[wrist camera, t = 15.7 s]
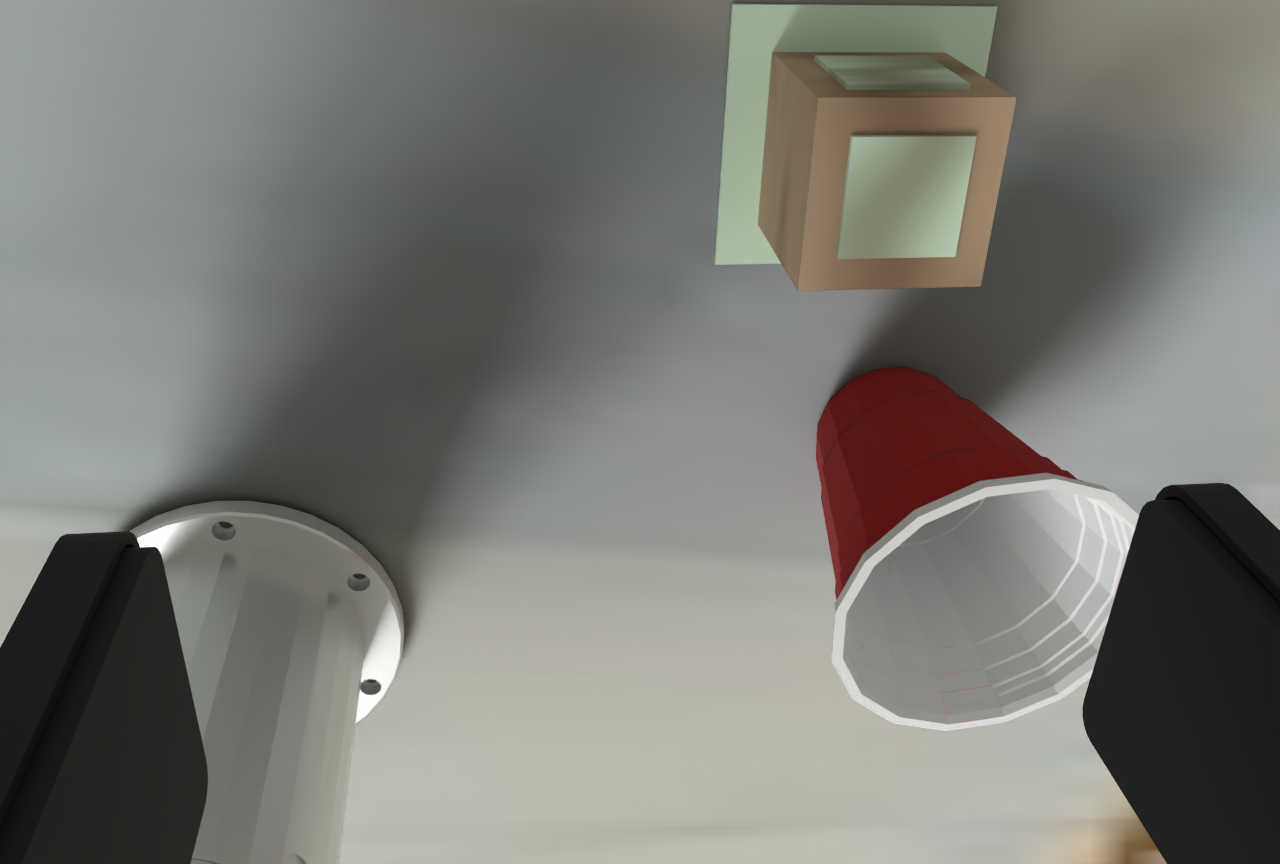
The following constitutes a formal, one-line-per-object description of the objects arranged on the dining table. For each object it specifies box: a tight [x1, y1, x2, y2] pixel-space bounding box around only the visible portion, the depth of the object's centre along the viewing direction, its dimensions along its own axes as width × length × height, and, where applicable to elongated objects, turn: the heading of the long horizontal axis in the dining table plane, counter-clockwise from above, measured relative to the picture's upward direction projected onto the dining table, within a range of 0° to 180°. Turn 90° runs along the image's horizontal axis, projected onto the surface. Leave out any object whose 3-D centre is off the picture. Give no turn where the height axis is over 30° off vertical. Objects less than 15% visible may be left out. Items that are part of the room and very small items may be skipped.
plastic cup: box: [816, 367, 1139, 731], centre depth 42 cm, size 11×11×12 cm
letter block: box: [758, 52, 1017, 291], centre depth 38 cm, size 6×6×6 cm
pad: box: [715, 4, 998, 265], centre depth 40 cm, size 9×9×1 cm
